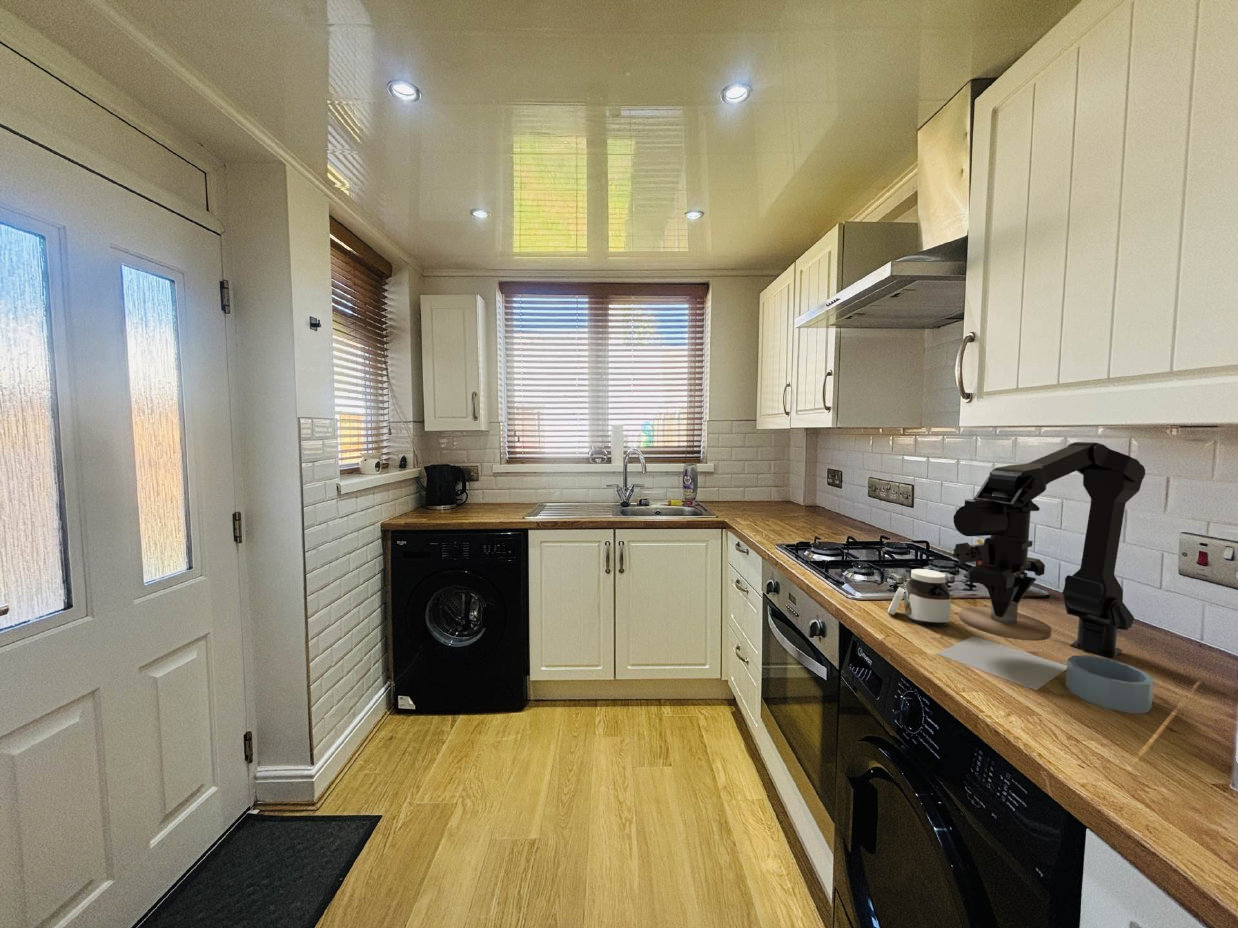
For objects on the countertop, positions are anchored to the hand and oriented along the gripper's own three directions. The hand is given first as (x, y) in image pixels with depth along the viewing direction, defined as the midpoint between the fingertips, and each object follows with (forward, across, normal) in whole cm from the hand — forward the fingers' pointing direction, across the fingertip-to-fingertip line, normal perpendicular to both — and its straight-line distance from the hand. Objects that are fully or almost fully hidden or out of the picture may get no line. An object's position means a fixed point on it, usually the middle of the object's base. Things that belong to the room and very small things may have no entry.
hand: (1003, 614), depth 95 cm
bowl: (+10, 0, +15) cm, 18 cm away
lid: (+2, 0, 0) cm, 2 cm away
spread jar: (+10, -8, -20) cm, 24 cm away
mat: (+10, 0, 0) cm, 10 cm away
